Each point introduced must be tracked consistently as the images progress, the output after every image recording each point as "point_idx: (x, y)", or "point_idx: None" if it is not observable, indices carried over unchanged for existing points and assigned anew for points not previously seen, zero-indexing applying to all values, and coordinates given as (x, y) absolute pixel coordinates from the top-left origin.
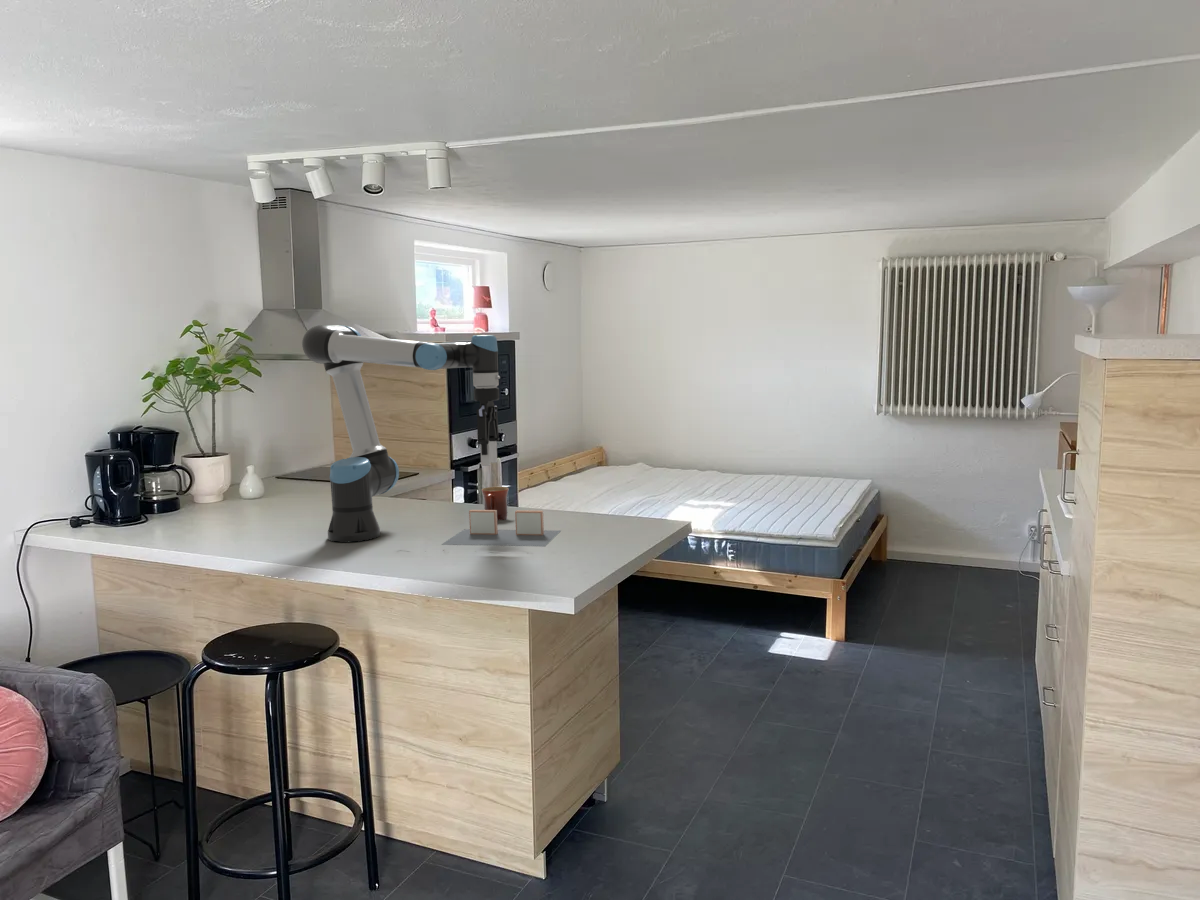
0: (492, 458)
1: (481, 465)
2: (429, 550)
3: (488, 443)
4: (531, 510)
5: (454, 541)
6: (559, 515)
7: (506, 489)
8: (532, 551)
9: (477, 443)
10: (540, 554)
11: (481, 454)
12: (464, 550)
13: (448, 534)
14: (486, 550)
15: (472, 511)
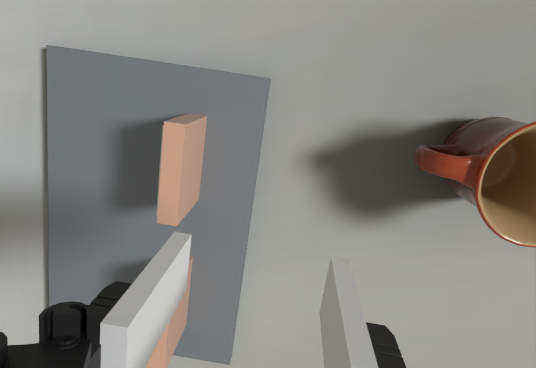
0: (327, 304)
1: (174, 234)
2: (29, 11)
3: (345, 362)
4: (167, 339)
5: (86, 81)
6: (508, 348)
7: (511, 241)
8: (45, 298)
9: (54, 306)
10: (19, 317)
11: (143, 275)
12: (39, 122)
13: (253, 23)
14: (45, 184)
15: (163, 135)
